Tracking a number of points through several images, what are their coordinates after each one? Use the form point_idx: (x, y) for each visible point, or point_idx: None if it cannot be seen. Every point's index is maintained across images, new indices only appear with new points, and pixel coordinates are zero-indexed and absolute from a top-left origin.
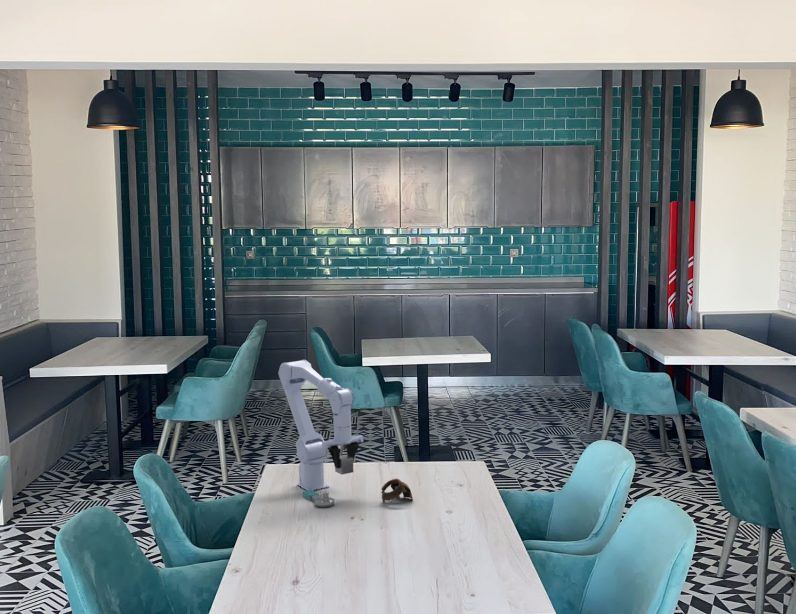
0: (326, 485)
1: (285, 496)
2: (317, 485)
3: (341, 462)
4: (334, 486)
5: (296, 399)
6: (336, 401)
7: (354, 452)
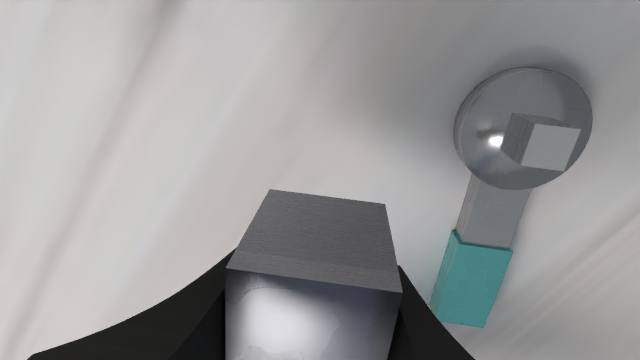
0: None
1: (530, 351)
2: None
3: (395, 268)
4: None
5: None
6: None
7: (164, 320)
